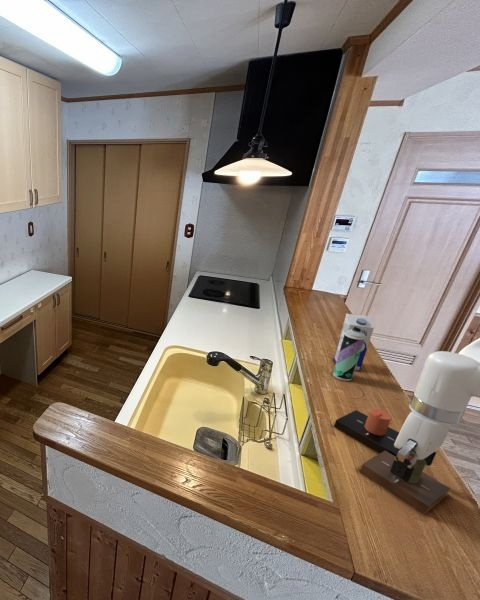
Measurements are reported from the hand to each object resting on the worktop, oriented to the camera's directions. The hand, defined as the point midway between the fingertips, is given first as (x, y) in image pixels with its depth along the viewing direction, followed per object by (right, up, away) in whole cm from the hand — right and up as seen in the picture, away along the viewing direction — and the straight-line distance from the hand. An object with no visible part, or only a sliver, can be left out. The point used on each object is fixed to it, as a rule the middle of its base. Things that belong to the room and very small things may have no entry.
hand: (410, 468), depth 75 cm
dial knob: (+5, +3, +14) cm, 16 cm away
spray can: (+19, +11, +43) cm, 48 cm away
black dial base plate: (+5, +1, +15) cm, 16 cm away
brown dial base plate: (0, -4, +2) cm, 5 cm away
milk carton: (+27, +14, +50) cm, 58 cm away
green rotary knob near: (0, -2, +1) cm, 2 cm away
